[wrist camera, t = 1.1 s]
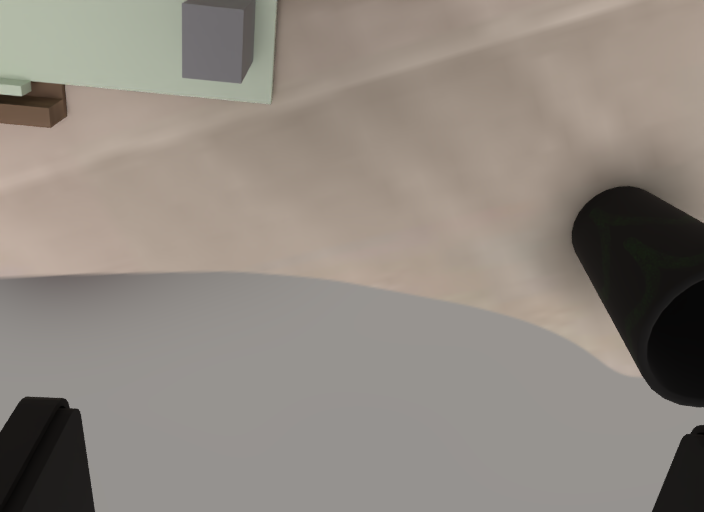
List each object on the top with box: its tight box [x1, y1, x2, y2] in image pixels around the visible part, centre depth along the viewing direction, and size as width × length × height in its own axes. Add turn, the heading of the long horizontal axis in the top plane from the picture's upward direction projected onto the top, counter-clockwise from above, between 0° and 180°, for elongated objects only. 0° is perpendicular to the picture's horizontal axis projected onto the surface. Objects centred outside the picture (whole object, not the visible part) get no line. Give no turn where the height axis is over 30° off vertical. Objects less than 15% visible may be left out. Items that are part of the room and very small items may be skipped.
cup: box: [572, 186, 704, 407], centre depth 35 cm, size 8×8×12 cm
